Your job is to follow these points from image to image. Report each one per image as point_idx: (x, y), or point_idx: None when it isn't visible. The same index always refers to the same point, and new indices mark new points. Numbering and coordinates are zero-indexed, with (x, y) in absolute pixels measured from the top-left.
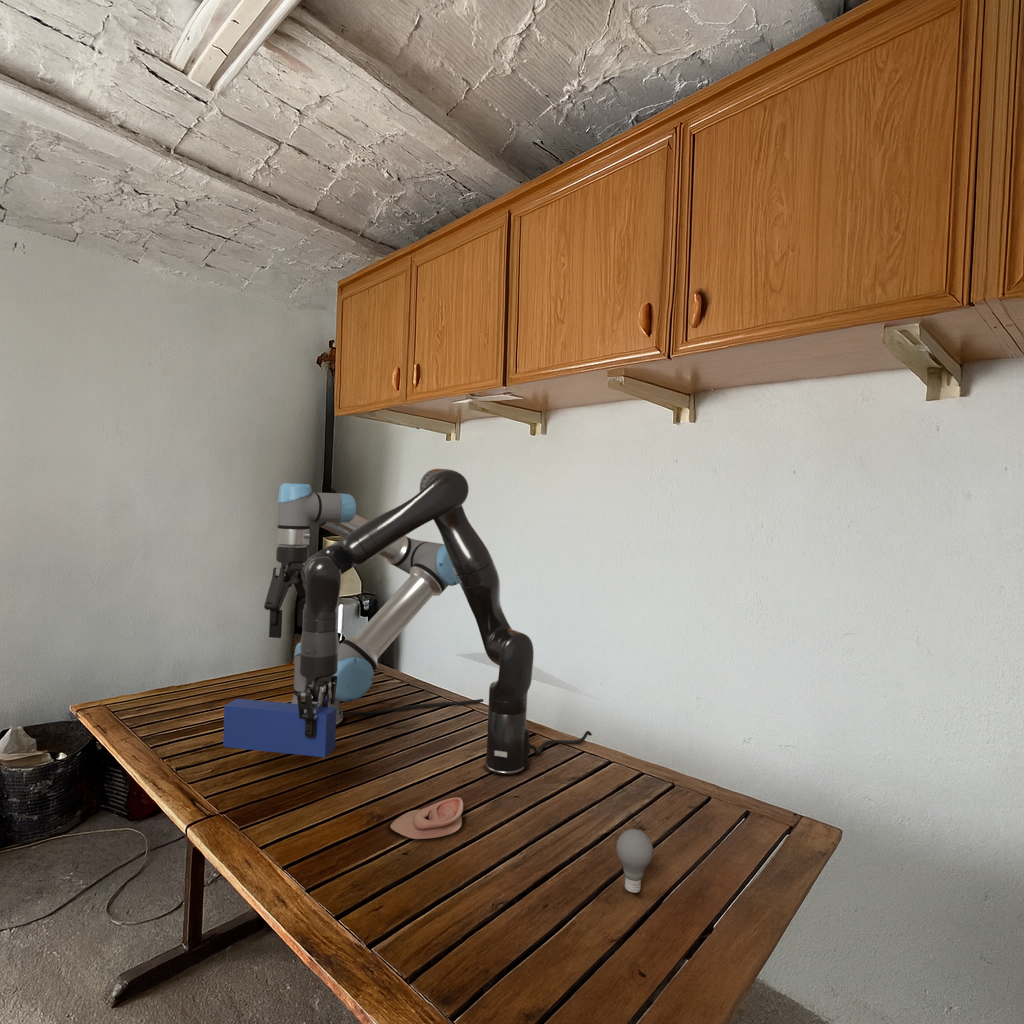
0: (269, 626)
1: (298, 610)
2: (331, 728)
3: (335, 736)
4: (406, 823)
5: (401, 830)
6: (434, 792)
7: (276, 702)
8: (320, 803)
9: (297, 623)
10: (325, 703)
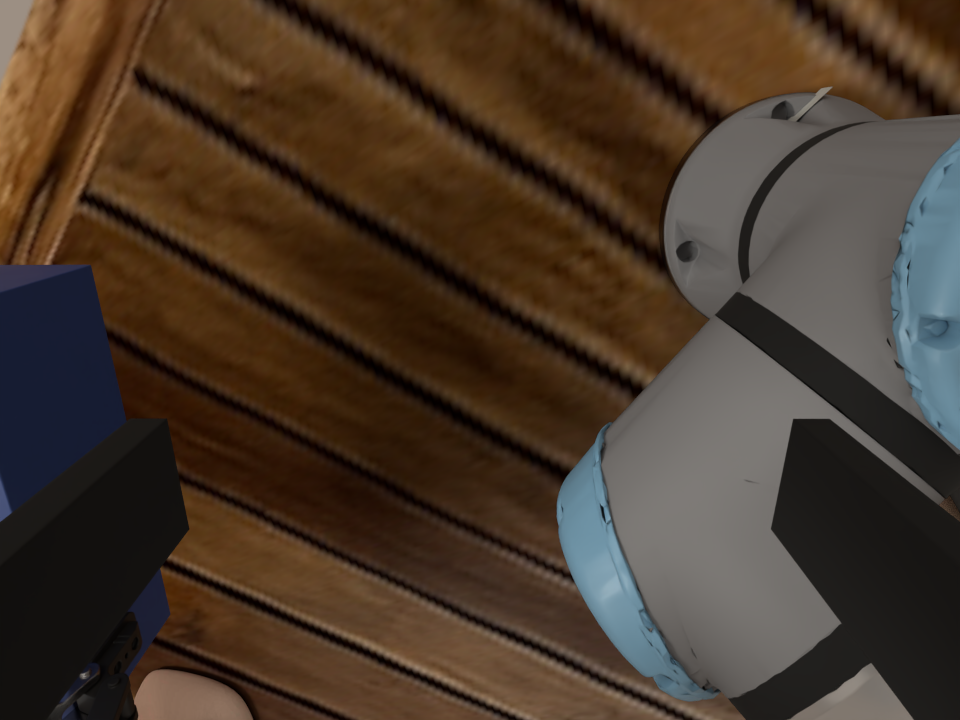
0: (43, 489)
1: (934, 559)
2: None
3: (147, 645)
4: (150, 709)
5: (139, 698)
6: (345, 700)
7: (6, 515)
8: (193, 502)
9: (812, 438)
10: (83, 705)
